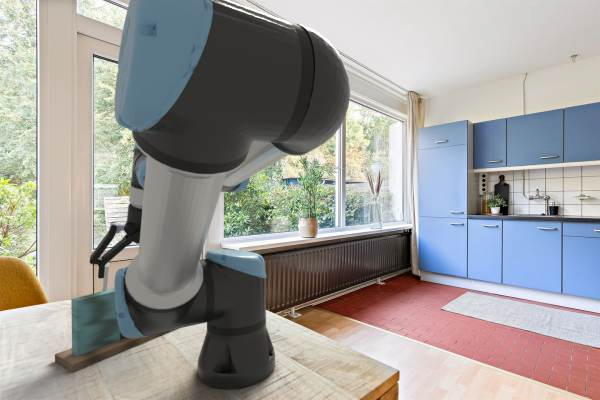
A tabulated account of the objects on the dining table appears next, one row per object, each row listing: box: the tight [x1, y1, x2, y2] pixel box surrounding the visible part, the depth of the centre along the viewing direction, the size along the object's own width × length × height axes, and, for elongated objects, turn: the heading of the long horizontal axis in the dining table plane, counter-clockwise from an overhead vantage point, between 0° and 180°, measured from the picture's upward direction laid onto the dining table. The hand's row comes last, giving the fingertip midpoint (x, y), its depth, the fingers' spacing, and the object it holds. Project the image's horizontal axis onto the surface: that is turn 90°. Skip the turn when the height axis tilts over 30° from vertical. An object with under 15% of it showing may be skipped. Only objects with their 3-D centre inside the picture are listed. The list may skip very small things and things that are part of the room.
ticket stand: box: [54, 288, 173, 373], centre depth 73 cm, size 25×8×13 cm, turn 148°
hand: (137, 287), depth 75 cm, fingers open, 13 cm apart
